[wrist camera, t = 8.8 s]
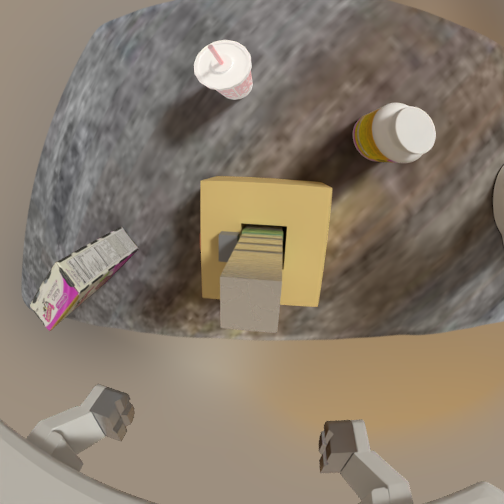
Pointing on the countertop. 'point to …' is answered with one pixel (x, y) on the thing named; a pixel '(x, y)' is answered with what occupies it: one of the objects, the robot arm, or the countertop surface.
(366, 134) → the supplement bottle
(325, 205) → the housing
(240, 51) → the beverage cup
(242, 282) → the column
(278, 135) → the countertop surface
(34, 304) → the candy bar box
